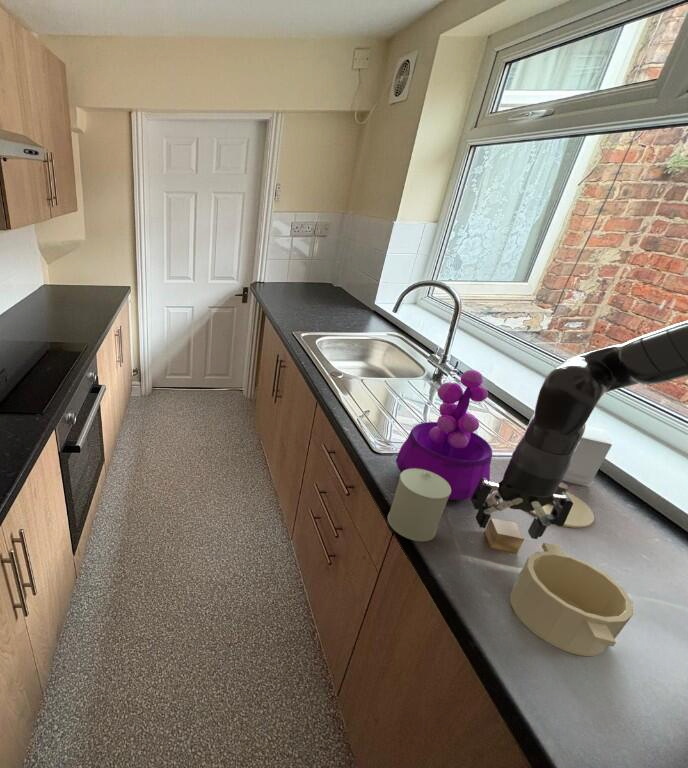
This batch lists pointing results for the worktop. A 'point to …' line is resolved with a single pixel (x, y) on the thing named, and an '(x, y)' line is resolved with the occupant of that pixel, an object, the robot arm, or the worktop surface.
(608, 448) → the white packaging box
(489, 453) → the decorative plant
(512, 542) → the block
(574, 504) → the lid
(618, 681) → the worktop surface
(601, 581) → the pot
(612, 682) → the worktop surface
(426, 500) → the can
